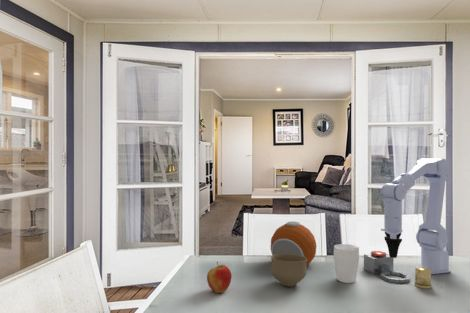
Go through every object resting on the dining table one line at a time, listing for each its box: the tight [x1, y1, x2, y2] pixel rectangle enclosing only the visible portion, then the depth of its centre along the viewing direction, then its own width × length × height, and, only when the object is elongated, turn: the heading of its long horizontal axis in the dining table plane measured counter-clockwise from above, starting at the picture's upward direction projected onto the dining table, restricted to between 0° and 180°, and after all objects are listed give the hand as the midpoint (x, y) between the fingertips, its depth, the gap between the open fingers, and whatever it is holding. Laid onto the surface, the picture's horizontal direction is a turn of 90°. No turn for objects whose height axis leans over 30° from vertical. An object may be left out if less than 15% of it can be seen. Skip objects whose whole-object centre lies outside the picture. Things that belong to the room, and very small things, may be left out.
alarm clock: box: [270, 221, 317, 268], centre depth 149 cm, size 19×18×17 cm
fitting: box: [414, 266, 433, 290], centre depth 124 cm, size 5×5×6 cm
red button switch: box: [363, 250, 411, 285], centre depth 136 cm, size 10×20×7 cm, turn 17°
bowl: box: [270, 254, 307, 287], centre depth 125 cm, size 13×13×10 cm
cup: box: [333, 243, 360, 284], centre depth 130 cm, size 9×9×12 cm
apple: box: [206, 261, 232, 294], centre depth 119 cm, size 8×8×10 cm
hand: (393, 254), depth 128 cm, fingers open, 7 cm apart
